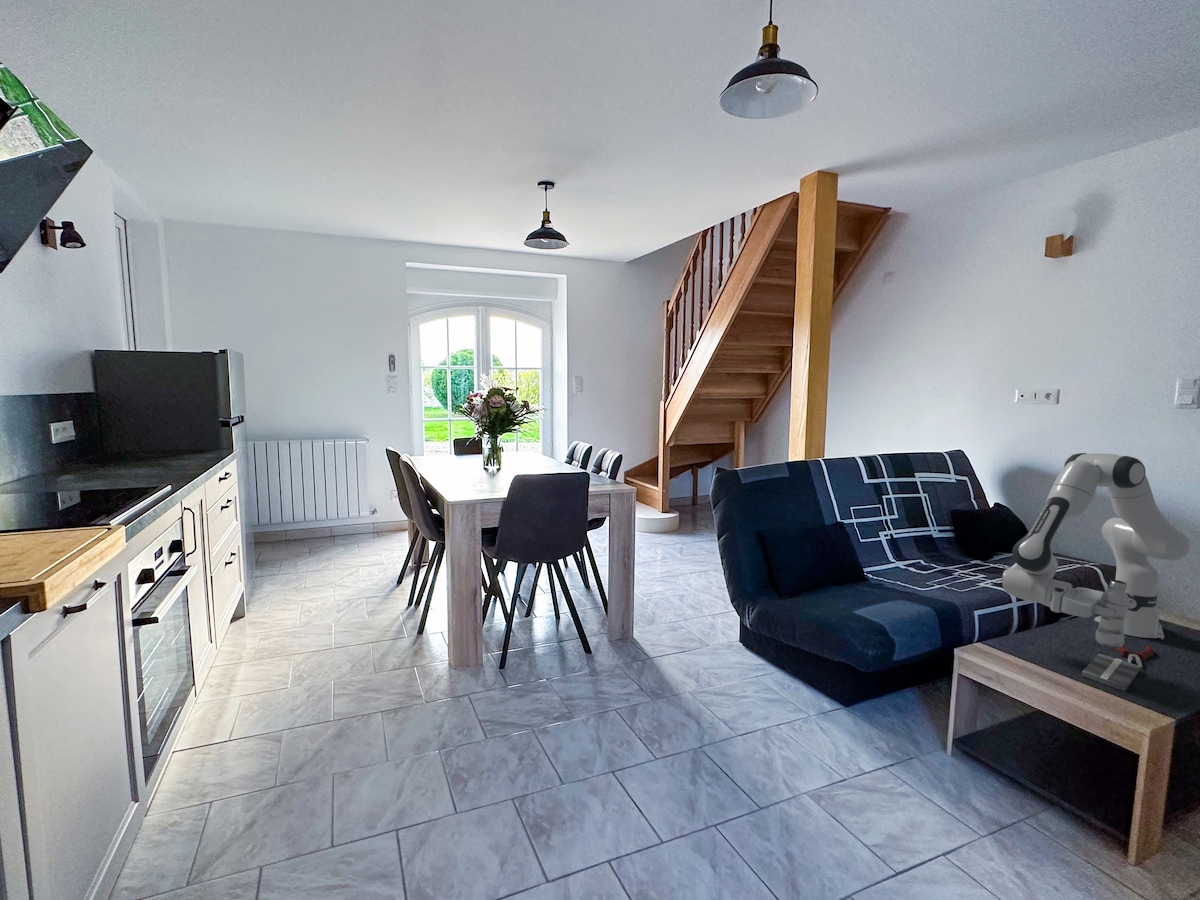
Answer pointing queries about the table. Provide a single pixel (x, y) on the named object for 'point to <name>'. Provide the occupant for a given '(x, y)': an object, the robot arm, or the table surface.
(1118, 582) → the plastic bottle
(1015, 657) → the table surface
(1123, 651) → the pliers
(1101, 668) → the subfloor board
